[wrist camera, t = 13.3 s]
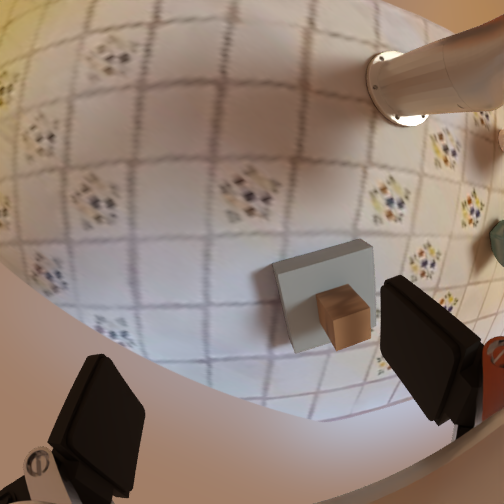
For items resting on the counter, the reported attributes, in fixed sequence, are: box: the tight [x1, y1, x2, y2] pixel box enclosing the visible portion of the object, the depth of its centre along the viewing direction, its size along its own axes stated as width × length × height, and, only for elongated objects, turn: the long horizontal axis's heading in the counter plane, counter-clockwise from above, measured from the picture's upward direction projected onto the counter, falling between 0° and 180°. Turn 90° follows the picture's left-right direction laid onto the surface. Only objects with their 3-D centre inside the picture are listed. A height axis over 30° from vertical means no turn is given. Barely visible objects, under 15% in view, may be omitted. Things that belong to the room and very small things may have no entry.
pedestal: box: [272, 239, 376, 354], centre depth 41 cm, size 14×14×4 cm
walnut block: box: [316, 284, 371, 351], centre depth 36 cm, size 5×5×7 cm
